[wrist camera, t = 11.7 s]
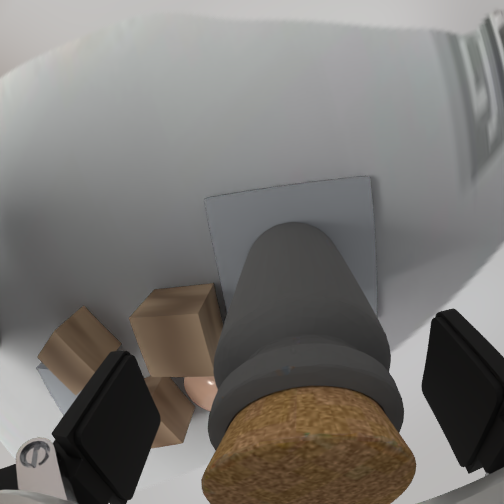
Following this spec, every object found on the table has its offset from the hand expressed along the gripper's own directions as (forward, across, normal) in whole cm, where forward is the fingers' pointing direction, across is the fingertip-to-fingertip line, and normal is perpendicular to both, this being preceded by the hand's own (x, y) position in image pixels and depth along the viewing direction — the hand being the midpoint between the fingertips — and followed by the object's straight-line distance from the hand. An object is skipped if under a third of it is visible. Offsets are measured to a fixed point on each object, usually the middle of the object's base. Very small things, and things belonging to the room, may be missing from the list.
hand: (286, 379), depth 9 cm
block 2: (+12, +7, +4) cm, 15 cm away
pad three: (+12, -1, 0) cm, 12 cm away
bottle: (+11, -1, 0) cm, 11 cm away
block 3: (+13, +12, +12) cm, 21 cm away
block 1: (+13, +17, +5) cm, 22 cm away
